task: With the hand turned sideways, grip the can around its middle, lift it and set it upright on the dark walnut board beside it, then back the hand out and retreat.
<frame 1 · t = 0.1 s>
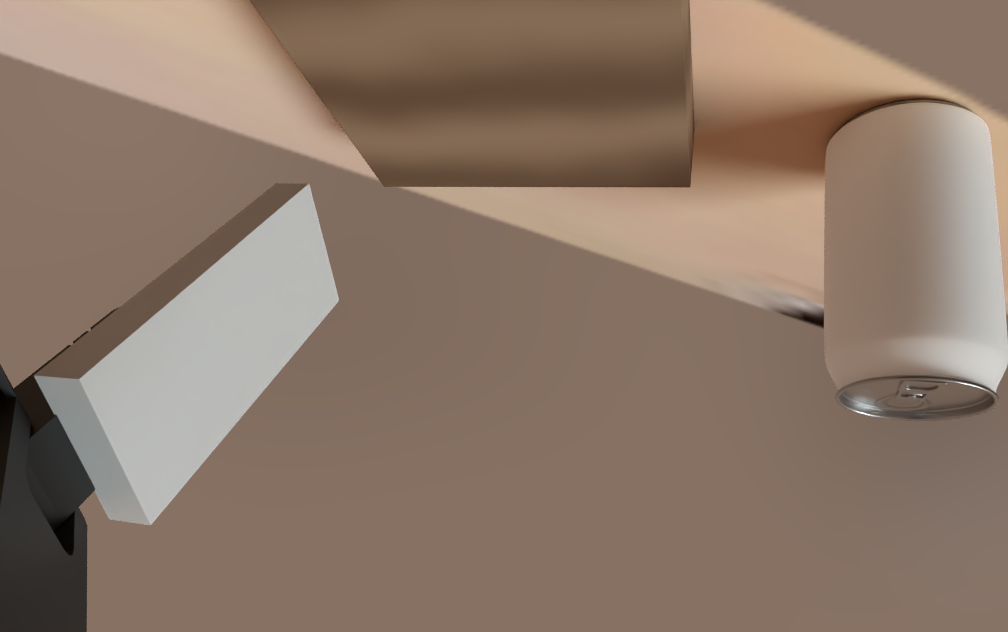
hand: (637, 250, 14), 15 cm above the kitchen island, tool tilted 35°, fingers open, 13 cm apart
walnut board: (499, 24, 31), on the kitchen island
can: (903, 136, 35), on the kitchen island
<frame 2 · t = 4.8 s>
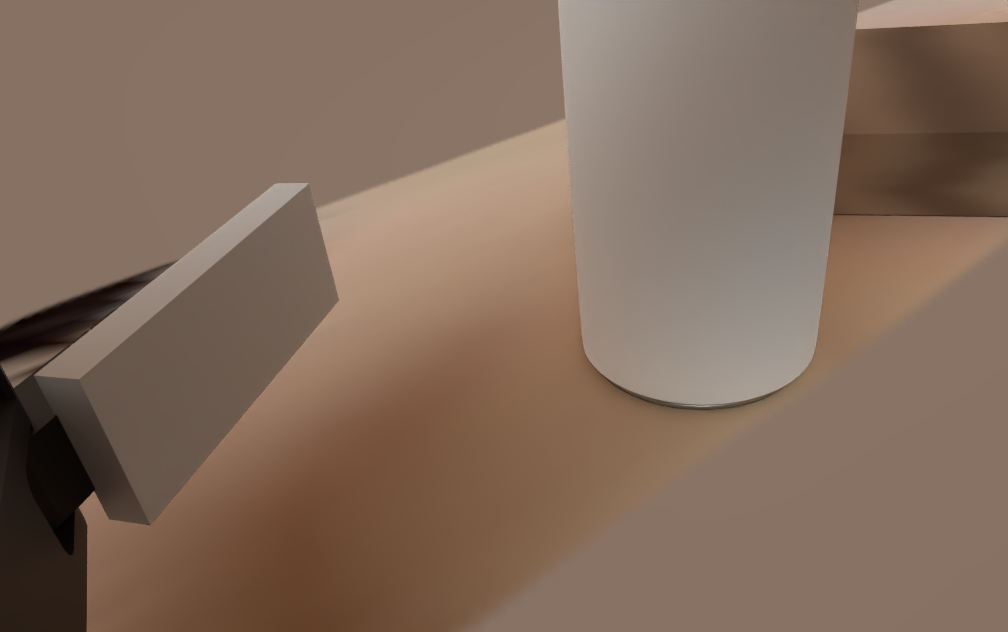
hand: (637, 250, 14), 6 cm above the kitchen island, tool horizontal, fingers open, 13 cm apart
walnut board: (925, 140, 33), on the kitchen island
can: (694, 351, 22), on the kitchen island
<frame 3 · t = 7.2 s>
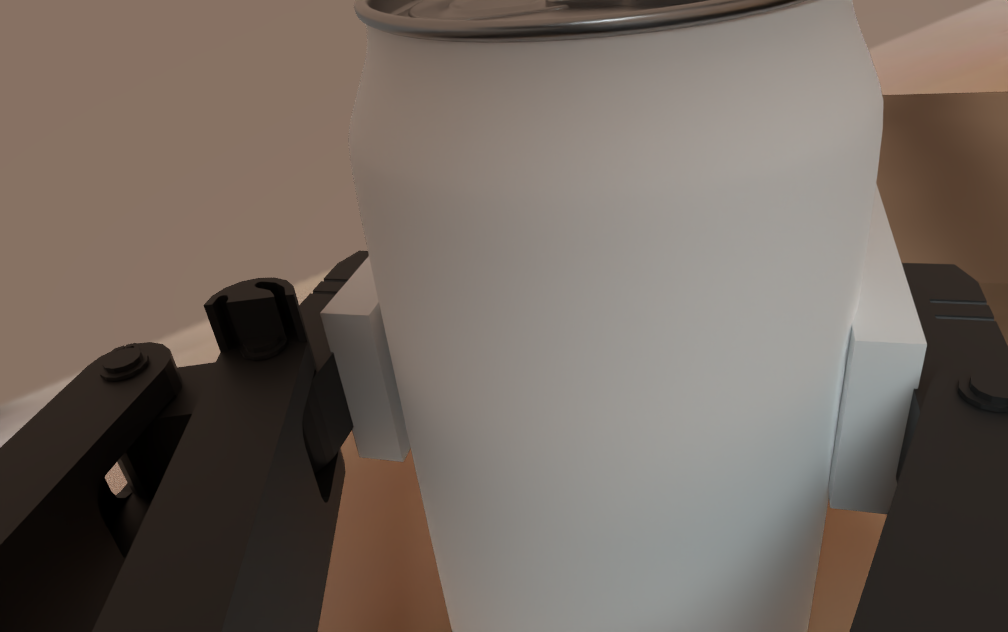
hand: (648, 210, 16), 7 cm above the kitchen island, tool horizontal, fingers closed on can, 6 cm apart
walnut board: (945, 250, 26), on the kitchen island
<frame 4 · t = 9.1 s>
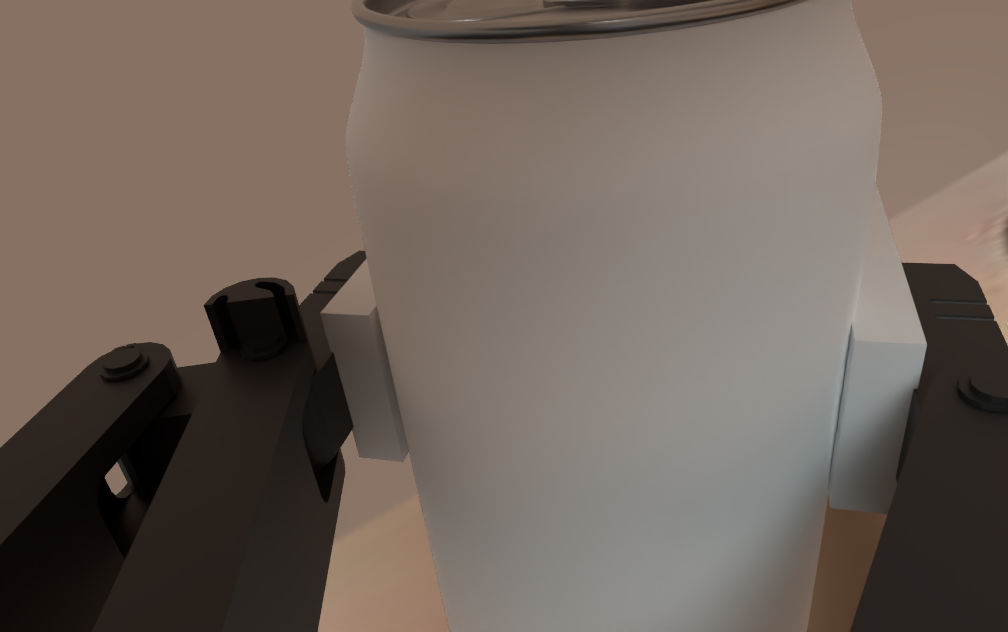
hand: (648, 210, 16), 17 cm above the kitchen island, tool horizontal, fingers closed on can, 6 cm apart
walnut board: (861, 603, 27), on the kitchen island
when the fingers open (11 cm above the kitchen island, at t = 11.4 s): can drops 1 cm, resting on walnut board.
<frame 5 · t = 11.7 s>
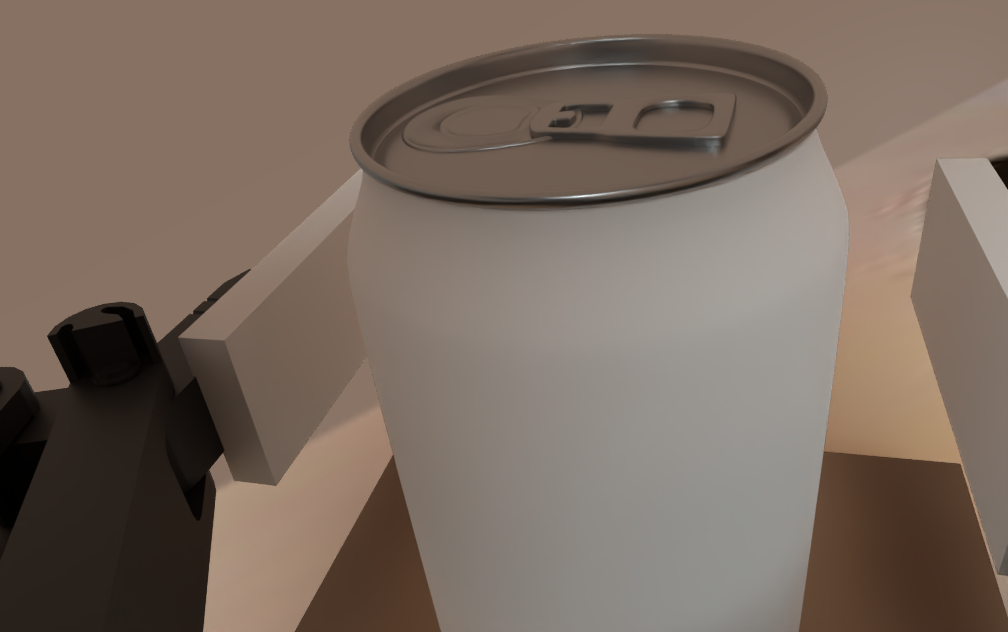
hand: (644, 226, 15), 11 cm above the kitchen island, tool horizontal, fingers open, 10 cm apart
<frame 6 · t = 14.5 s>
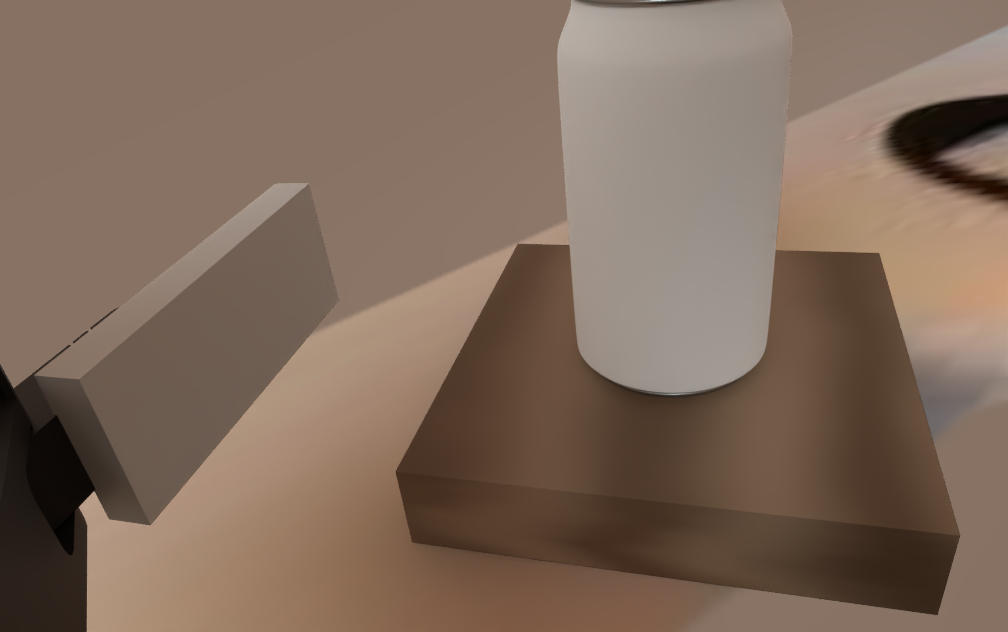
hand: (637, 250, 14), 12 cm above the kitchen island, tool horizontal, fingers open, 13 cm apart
walnut board: (672, 413, 29), on the kitchen island
can: (669, 350, 27), point 3 cm above the kitchen island, touching walnut board
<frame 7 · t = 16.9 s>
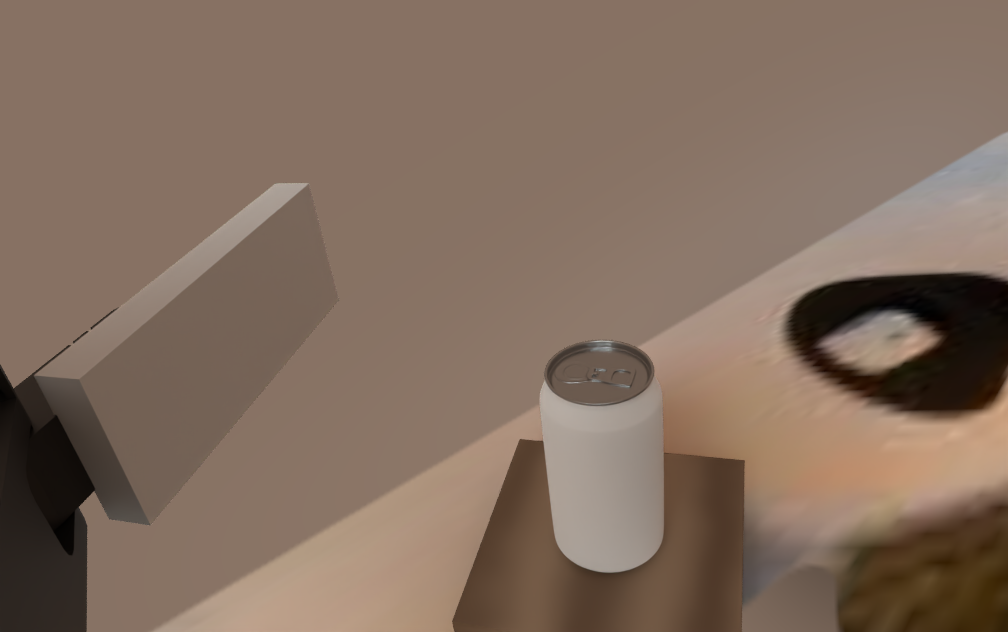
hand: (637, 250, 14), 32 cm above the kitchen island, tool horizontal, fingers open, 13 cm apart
walnut board: (612, 568, 48), on the kitchen island
can: (608, 536, 46), point 3 cm above the kitchen island, touching walnut board
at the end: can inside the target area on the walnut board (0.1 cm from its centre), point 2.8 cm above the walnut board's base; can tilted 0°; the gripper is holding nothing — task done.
